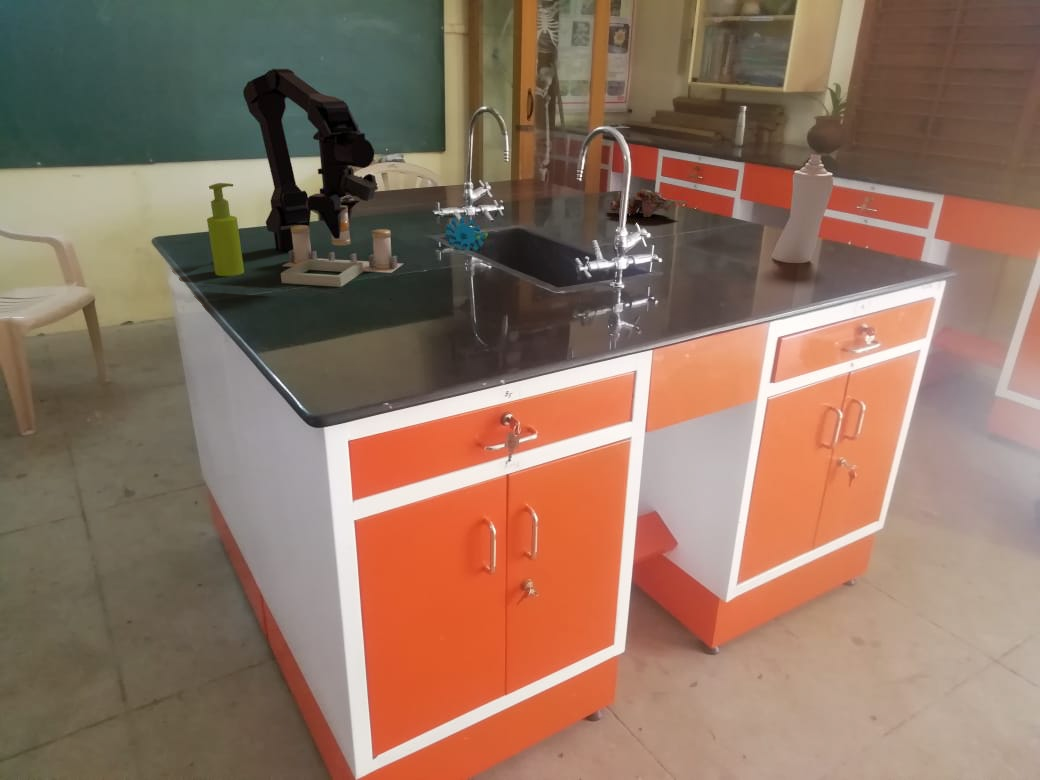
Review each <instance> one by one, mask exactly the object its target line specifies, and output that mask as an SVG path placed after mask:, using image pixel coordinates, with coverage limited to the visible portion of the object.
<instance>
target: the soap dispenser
mask: <svg viewBox="0 0 1040 780" xmlns="http://www.w3.org/2000/svg"><path fill="white" fill-rule="evenodd" d="M233 186H234V184H233V183H228V182H227V183H224V182H218V183H214V184H210V185H209V186H208V188H209V190H213V196H214V199H212V200H211V201H210V204H211V205H210V206H211V213H212V216H210V217H208V218H206V223H207V229H208V235H209V242H210V247H211V255H212V261H213V267H214V275H216V276H220V277H231V276H232V277H234V276H238V275H239V276H240V275H241V274H244V273H245V270H244V269H245V268H244V261H243V260H244V259H243V254H242V246H241V239H240V233H239V224H238V218H237V216H233V215H231V212H230V211H231V210H230V205H229V201H228V200H226V199H225V198H224V195H223V189H224V188H227V187H233Z"/></svg>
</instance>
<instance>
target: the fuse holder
mask: <svg viewBox="0 0 1040 780" xmlns="http://www.w3.org/2000/svg"><path fill="white" fill-rule="evenodd" d="M287 253H288V259H289V261H288V262H286V263H284V264H282V265H281V266H282V267H289V268H291V267H293V266H295V265H297V264H295V263H294V250H291V251H289V252H287ZM335 254H336V253H335V252H334V251H331V252H329V253H328V254H327V255H328V256H327V257H328V258H319V257H318V255H317V250H313V251H311V253H310V257H311V259H312V260H329V261H346V262H362V263H363V272H372V273H374V272H375V273H387V274H392V273H393V272H394V271H396V270H398V269H399V268H400V267H401V266H403V265H404V263H399V262H398V256H397V255H393V256H391V264H392V268H390V269H383V270H382V269H375V268H374V253H372V254H371V255H368V261H366V260H364V261H363V260H358V259H357V257H358V256H357V253H355V252H354V253H352V254H350V256H349V257H350V260H348V259H336V256H335Z"/></svg>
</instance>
